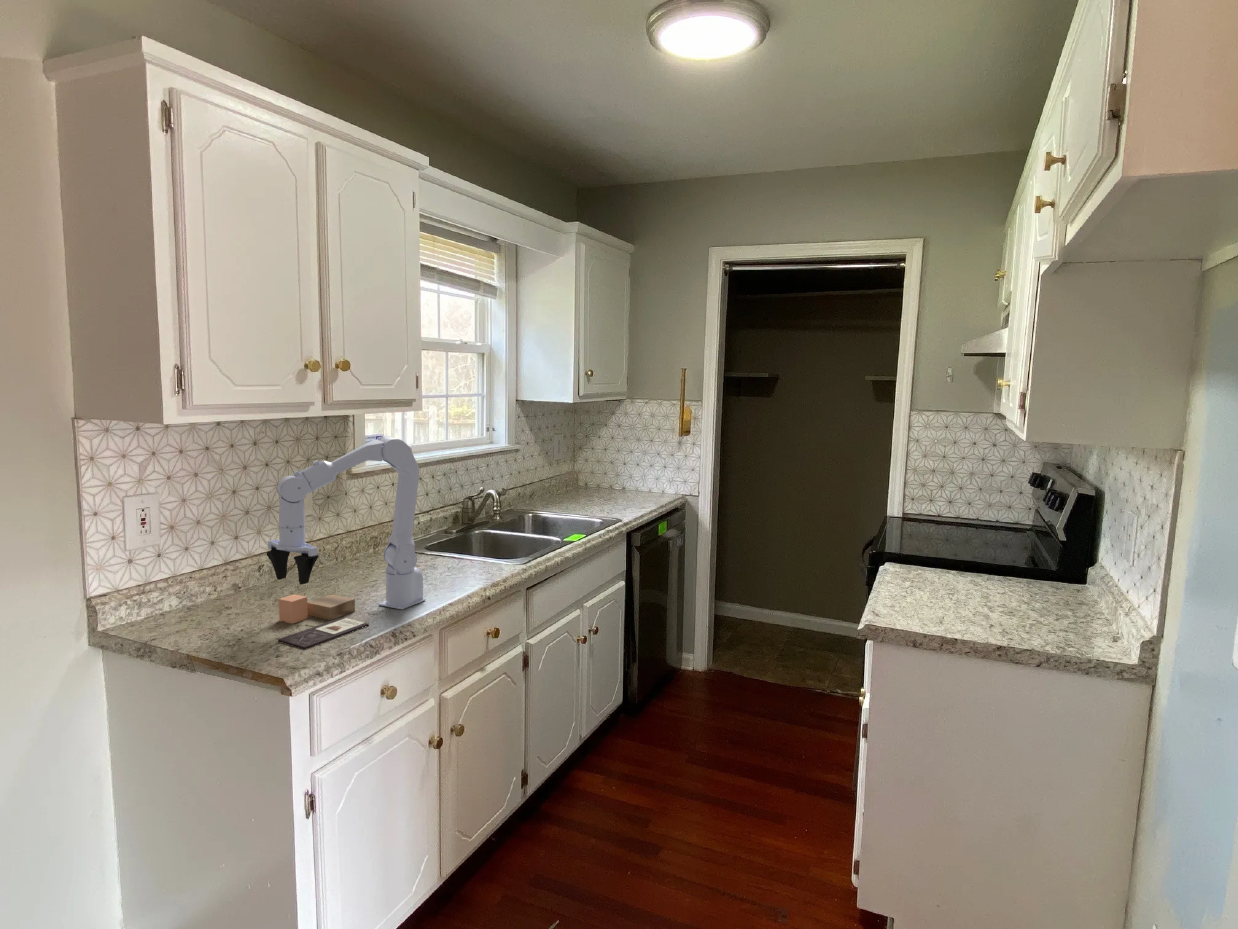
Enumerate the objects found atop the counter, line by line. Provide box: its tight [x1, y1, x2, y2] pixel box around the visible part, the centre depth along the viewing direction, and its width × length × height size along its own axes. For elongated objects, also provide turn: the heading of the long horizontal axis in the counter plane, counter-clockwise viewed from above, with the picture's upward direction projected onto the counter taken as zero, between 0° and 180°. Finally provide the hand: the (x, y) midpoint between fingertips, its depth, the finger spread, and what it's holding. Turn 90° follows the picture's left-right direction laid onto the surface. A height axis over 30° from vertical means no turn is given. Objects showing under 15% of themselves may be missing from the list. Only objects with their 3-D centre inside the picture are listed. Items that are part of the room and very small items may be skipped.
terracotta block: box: [278, 593, 309, 625], centre depth 179 cm, size 4×4×6 cm
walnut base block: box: [307, 594, 356, 621], centre depth 184 cm, size 8×8×4 cm
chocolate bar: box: [277, 616, 370, 650], centre depth 170 cm, size 9×1×18 cm
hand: (292, 581), depth 178 cm, fingers open, 7 cm apart
